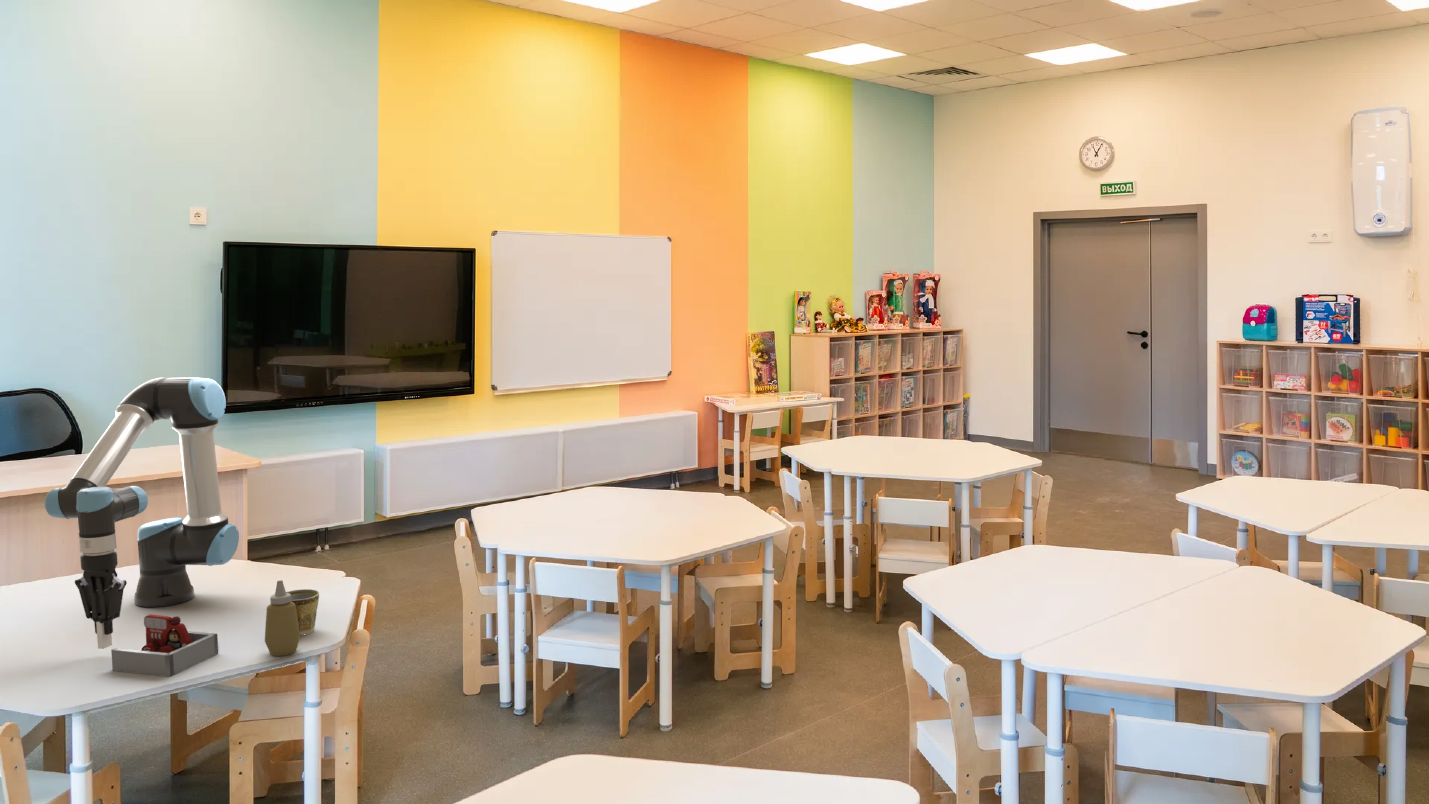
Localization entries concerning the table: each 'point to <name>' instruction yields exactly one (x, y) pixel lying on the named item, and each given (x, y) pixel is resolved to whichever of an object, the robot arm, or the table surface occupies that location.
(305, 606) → the ceramic cup
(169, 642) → the toy fire truck
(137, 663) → the box
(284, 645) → the squeeze bottle
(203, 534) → the robot arm
